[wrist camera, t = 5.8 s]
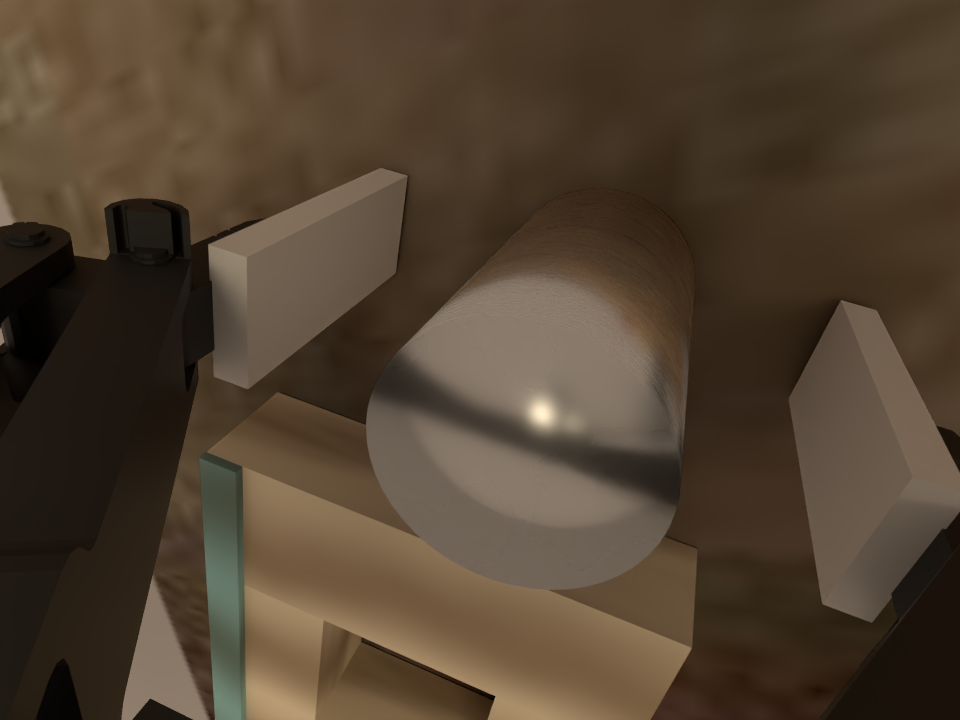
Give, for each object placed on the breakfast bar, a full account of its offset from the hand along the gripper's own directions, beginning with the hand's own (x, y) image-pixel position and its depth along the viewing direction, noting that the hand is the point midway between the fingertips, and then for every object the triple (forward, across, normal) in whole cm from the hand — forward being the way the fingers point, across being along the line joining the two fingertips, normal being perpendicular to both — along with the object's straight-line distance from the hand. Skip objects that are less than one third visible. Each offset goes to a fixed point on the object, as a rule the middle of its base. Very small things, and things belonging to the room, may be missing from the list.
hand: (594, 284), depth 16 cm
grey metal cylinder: (0, 0, 0) cm, 0 cm away
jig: (0, -2, -15) cm, 15 cm away
